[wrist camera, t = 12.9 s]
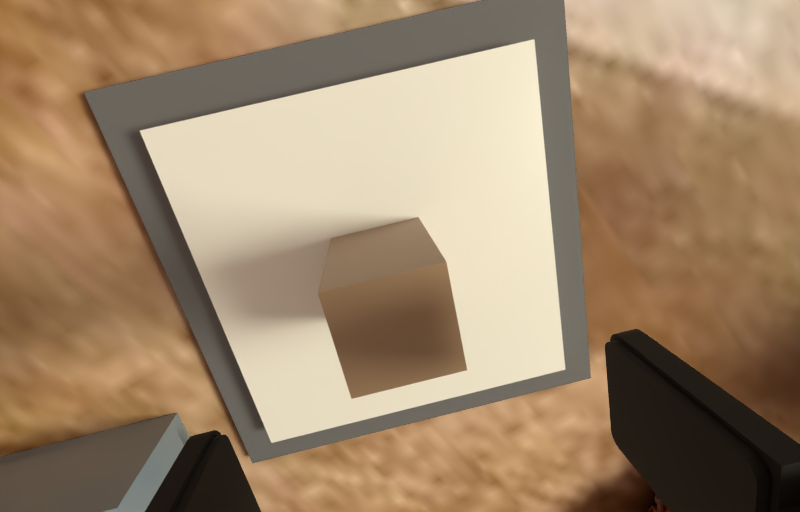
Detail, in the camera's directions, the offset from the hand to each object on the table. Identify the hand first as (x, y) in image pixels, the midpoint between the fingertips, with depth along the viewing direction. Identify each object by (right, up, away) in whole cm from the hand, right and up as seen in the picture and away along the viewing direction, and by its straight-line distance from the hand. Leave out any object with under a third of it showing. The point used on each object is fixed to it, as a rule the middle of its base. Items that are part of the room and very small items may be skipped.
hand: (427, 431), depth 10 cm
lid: (-1, +4, +10) cm, 11 cm away
